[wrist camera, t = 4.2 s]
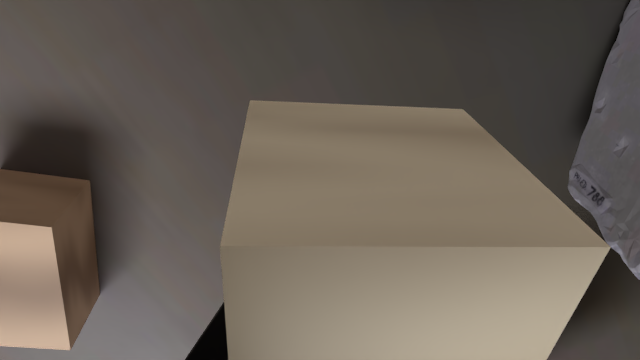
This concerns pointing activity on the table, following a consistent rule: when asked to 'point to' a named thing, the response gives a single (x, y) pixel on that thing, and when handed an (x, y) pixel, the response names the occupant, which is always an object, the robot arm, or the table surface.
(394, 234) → the ash brick
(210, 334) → the robot arm
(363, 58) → the table surface
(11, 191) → the brick
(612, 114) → the stone block
